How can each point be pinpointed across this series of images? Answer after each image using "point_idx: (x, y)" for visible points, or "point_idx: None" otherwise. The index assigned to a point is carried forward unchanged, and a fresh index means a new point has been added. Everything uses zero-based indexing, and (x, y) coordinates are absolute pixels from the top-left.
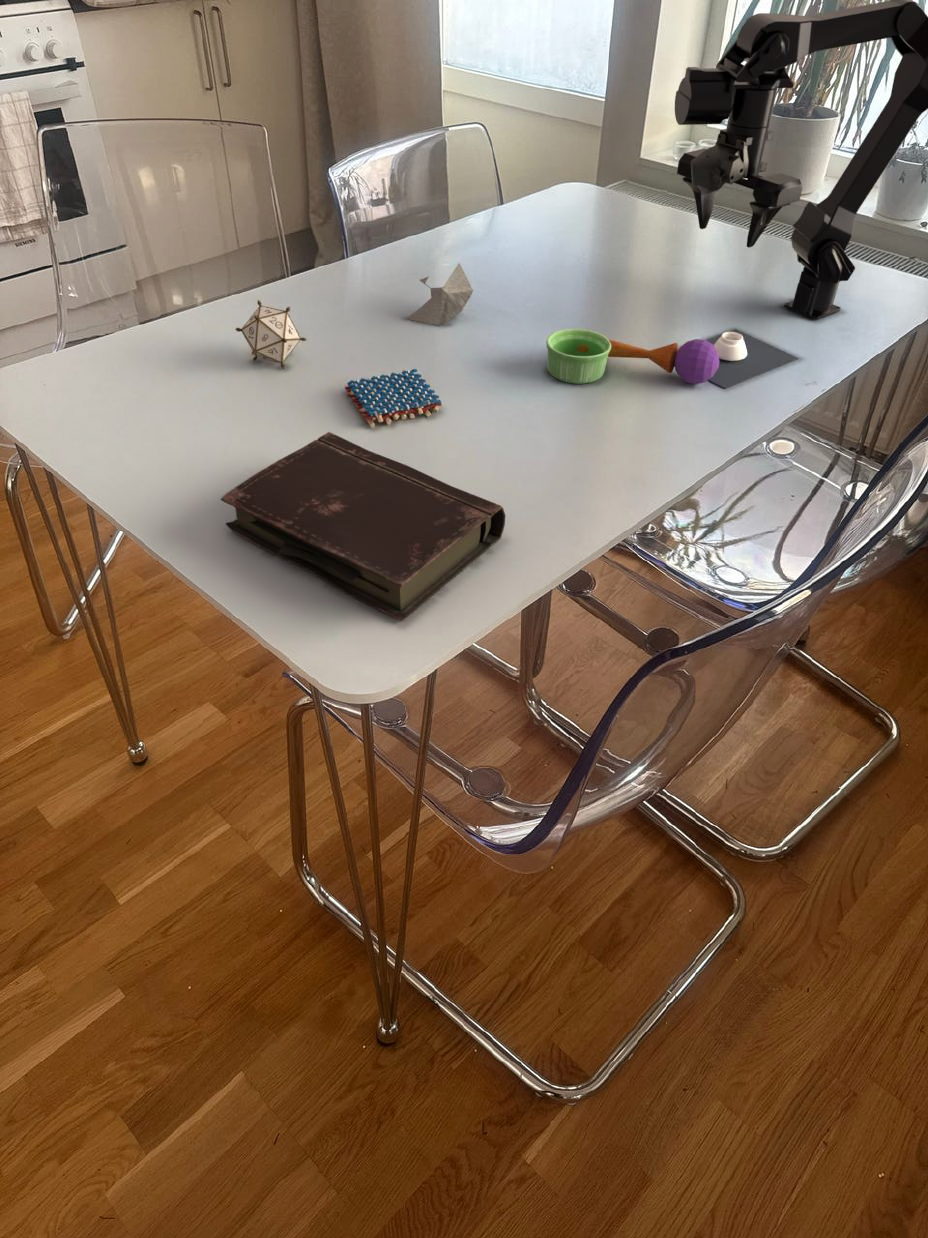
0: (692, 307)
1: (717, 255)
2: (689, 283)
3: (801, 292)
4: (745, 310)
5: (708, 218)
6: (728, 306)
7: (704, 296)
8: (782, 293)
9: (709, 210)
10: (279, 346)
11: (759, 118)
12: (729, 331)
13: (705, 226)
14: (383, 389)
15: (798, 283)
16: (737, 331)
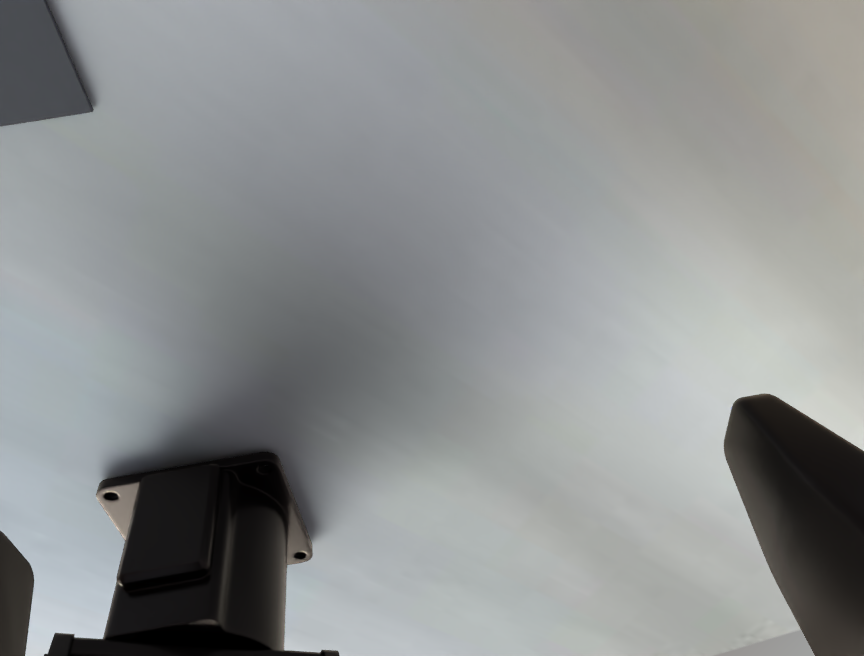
0: (480, 76)
1: None
2: (711, 254)
3: (172, 537)
4: (313, 304)
5: (771, 547)
6: (391, 261)
7: (553, 228)
8: (393, 502)
9: (839, 642)
10: None
11: None
12: (59, 48)
13: (732, 454)
14: None
15: (199, 563)
16: (51, 97)
